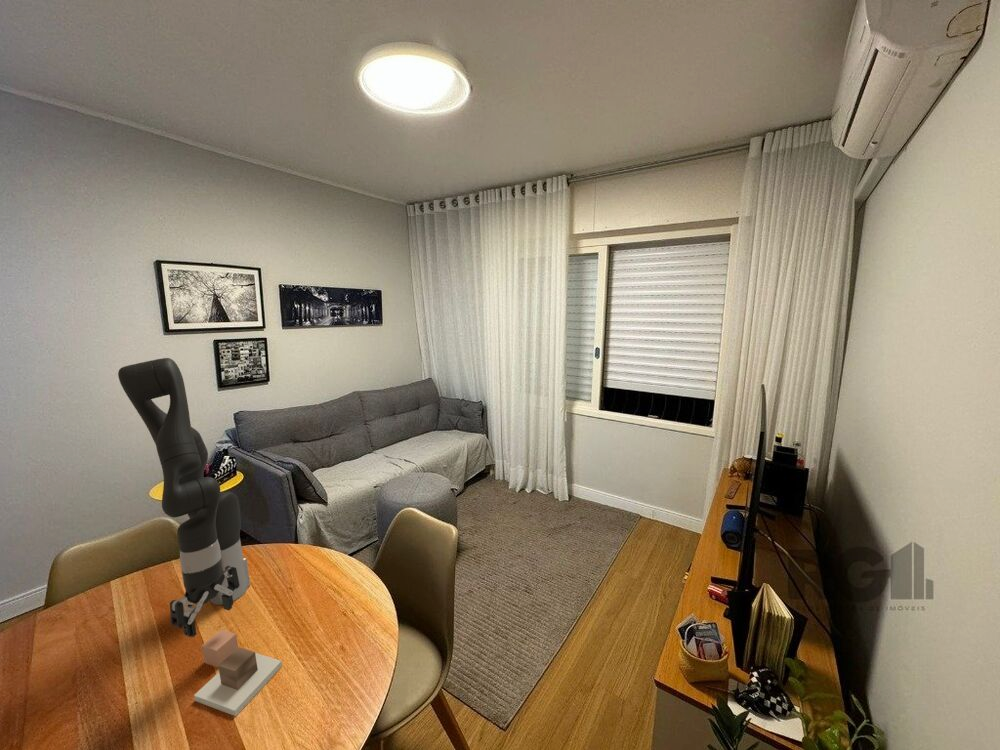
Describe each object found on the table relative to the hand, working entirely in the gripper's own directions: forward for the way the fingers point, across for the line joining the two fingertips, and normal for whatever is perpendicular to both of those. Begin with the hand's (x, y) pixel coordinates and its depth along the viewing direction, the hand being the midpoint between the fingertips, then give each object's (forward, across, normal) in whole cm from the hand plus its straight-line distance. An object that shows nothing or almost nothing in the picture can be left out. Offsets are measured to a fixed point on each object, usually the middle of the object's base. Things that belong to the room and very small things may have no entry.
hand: (210, 621), depth 93 cm
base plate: (+11, +2, +12) cm, 16 cm away
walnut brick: (+9, +2, +12) cm, 15 cm away
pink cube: (+11, -1, 0) cm, 11 cm away
